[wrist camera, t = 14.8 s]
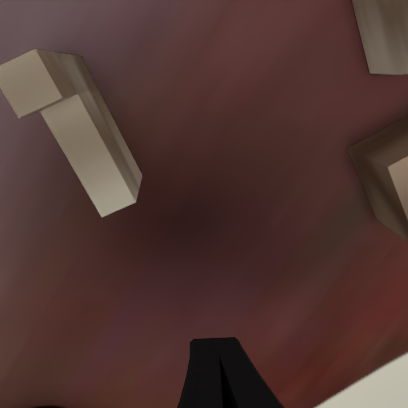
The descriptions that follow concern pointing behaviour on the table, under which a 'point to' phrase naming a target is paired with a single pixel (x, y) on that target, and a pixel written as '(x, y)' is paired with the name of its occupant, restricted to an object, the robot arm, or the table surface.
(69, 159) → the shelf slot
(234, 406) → the robot arm
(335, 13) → the table surface
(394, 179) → the block
